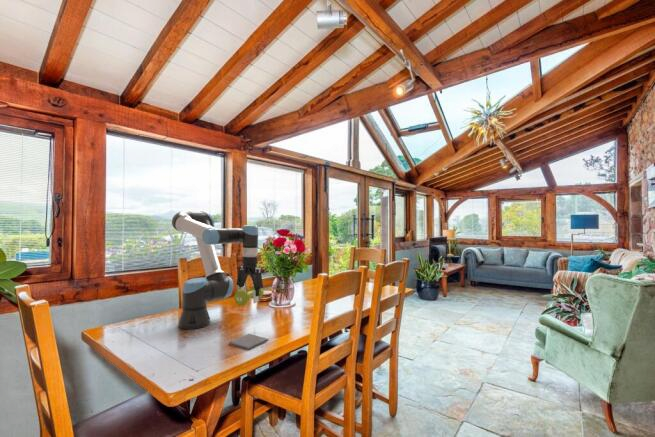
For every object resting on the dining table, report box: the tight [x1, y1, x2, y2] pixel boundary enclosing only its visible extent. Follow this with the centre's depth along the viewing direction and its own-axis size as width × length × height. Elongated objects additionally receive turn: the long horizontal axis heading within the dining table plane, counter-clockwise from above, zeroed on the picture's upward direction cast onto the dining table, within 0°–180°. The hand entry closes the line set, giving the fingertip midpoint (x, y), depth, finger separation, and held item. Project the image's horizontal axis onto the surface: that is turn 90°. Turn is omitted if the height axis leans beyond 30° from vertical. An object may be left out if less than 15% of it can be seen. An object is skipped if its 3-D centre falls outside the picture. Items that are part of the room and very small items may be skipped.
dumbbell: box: [233, 284, 265, 307], centre depth 157 cm, size 16×8×7 cm, turn 158°
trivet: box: [228, 333, 269, 351], centre depth 141 cm, size 12×12×1 cm
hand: (249, 301), depth 157 cm, fingers closed on dumbbell, 8 cm apart
